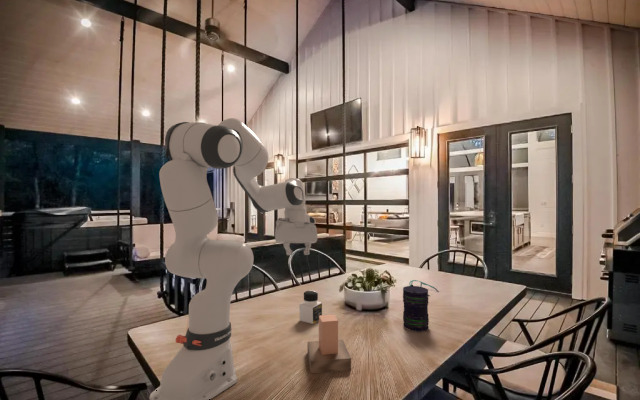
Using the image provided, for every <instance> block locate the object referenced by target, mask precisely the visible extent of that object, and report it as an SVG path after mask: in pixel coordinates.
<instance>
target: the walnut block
mask: <svg viewBox="0 0 640 400" xmlns="http://www.w3.org/2000/svg"><path fill="white" fill-rule="evenodd" d="M307 358H308V364H309V371H310V374H319V373H320V374H322V373H331V372H332V373H333V372H334V373H335V372H344V371H345V372H346V371H347V372H348V371H352V358H351V355H350V353H349V351H348V347H347V346H346V343H345V341H344V339H338V353H335V354H326V355H322V353H321V351H320V348H319V340H317V341H314V340H313V341H307Z"/></svg>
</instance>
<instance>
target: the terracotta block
mask: <svg viewBox="0 0 640 400" xmlns="http://www.w3.org/2000/svg"><path fill="white" fill-rule="evenodd" d="M338 340H339V320H338V319H337V317H336V315H335V314H334V313H333V314H322V315H321V316H319V321H318V341H319V348H320V351H321V353H322V355H326V354H335V353H338Z"/></svg>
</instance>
